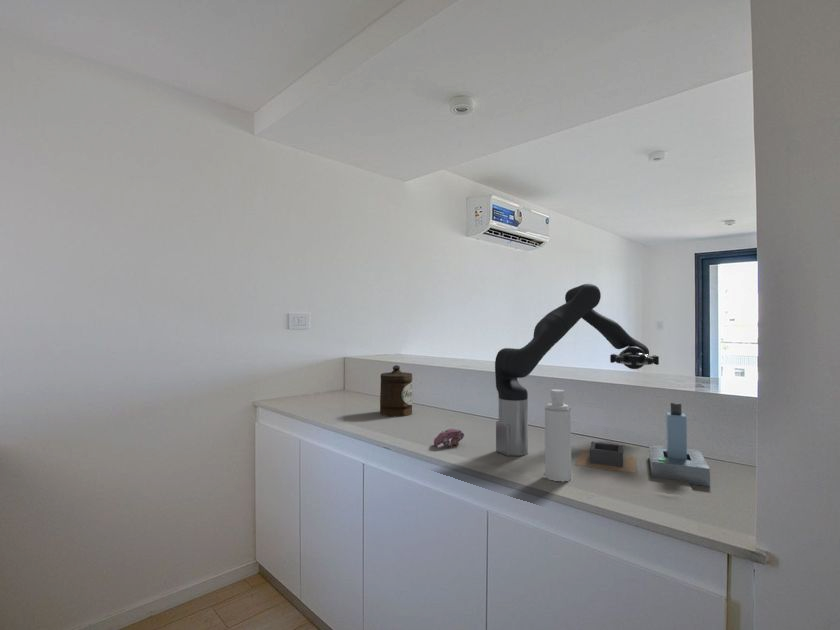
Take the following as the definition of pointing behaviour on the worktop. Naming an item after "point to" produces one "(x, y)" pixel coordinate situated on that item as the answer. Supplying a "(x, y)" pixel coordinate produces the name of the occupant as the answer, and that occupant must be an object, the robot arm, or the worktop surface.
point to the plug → (676, 433)
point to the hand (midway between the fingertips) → (634, 360)
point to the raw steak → (449, 437)
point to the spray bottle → (558, 438)
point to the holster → (607, 458)
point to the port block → (679, 466)
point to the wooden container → (396, 393)
